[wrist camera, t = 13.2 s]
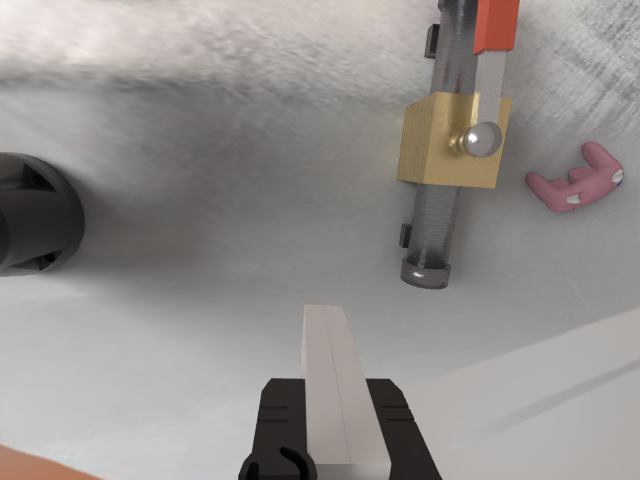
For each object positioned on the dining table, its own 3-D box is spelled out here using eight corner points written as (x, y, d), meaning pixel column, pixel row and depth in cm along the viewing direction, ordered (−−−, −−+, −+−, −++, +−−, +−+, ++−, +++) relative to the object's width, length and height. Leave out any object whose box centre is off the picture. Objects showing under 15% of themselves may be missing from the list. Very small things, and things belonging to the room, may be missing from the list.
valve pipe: (385, 269, 44) (412, 301, 34) (420, -8, 36) (469, -78, 26) (439, 271, 45) (481, 304, 34) (485, 0, 37) (558, -65, 26)
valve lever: (490, 157, 31) (501, 157, 29) (459, 157, 30) (468, 157, 29) (514, -34, 27) (529, -48, 25) (478, -36, 27) (491, -50, 25)
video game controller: (521, 197, 45) (563, 224, 39) (522, 173, 42) (568, 198, 37) (584, 164, 44) (635, 186, 39) (589, 136, 41) (646, 157, 36)
